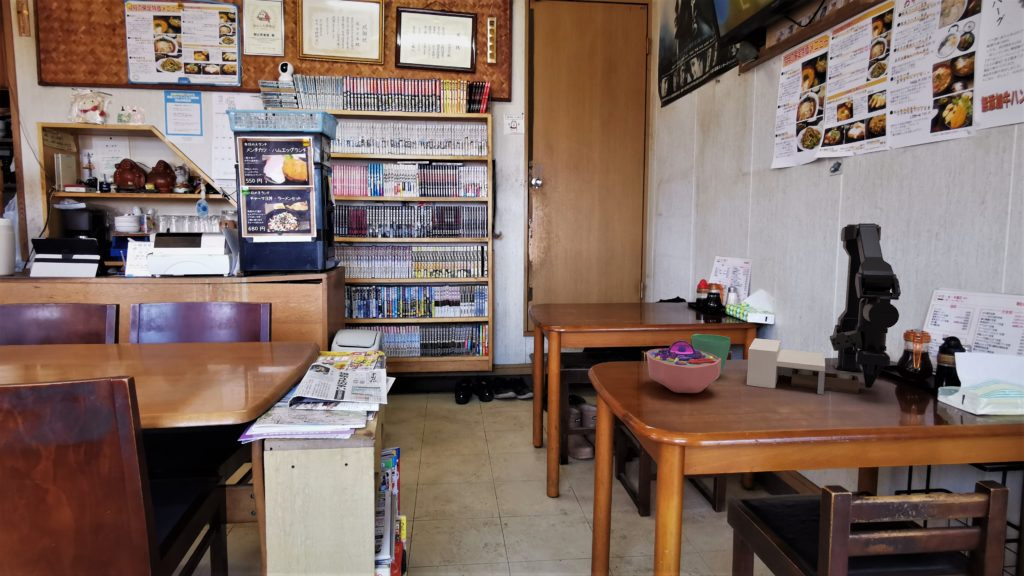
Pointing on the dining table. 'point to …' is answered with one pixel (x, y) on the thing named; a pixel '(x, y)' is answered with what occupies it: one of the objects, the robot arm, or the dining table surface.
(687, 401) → the dining table surface
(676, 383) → the cell model
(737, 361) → the dining table surface
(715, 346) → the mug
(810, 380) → the tray
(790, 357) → the counter
